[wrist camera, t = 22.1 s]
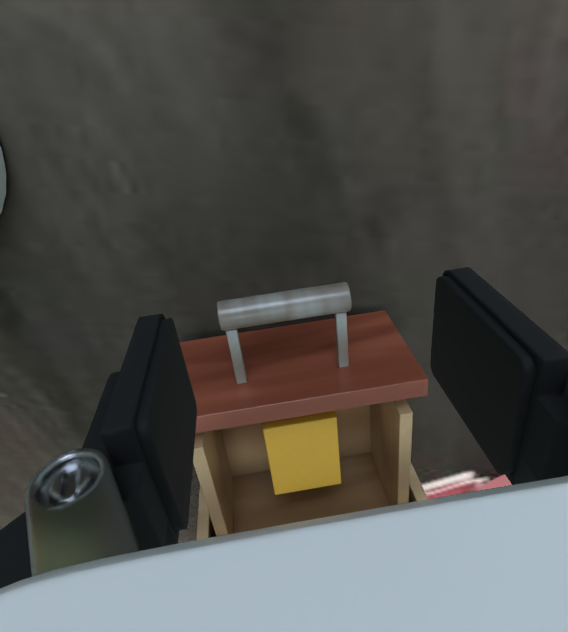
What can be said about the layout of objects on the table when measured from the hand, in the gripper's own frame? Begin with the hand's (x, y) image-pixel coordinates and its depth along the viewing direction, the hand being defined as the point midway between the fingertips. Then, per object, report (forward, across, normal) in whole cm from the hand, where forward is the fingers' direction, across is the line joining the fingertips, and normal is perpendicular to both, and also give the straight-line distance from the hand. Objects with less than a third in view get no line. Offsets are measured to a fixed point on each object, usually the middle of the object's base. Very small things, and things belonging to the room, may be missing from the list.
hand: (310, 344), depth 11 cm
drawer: (+17, 0, +14) cm, 22 cm away
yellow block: (+16, 0, +16) cm, 22 cm away
